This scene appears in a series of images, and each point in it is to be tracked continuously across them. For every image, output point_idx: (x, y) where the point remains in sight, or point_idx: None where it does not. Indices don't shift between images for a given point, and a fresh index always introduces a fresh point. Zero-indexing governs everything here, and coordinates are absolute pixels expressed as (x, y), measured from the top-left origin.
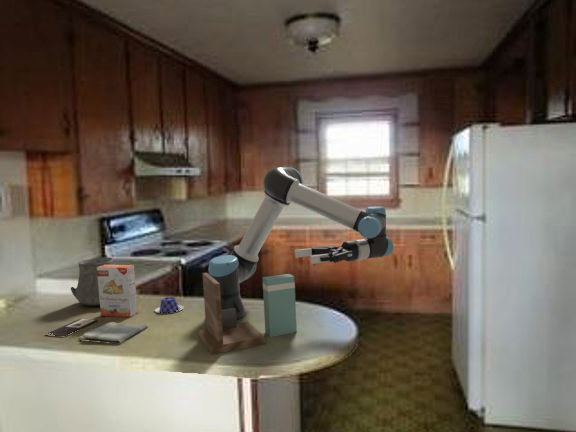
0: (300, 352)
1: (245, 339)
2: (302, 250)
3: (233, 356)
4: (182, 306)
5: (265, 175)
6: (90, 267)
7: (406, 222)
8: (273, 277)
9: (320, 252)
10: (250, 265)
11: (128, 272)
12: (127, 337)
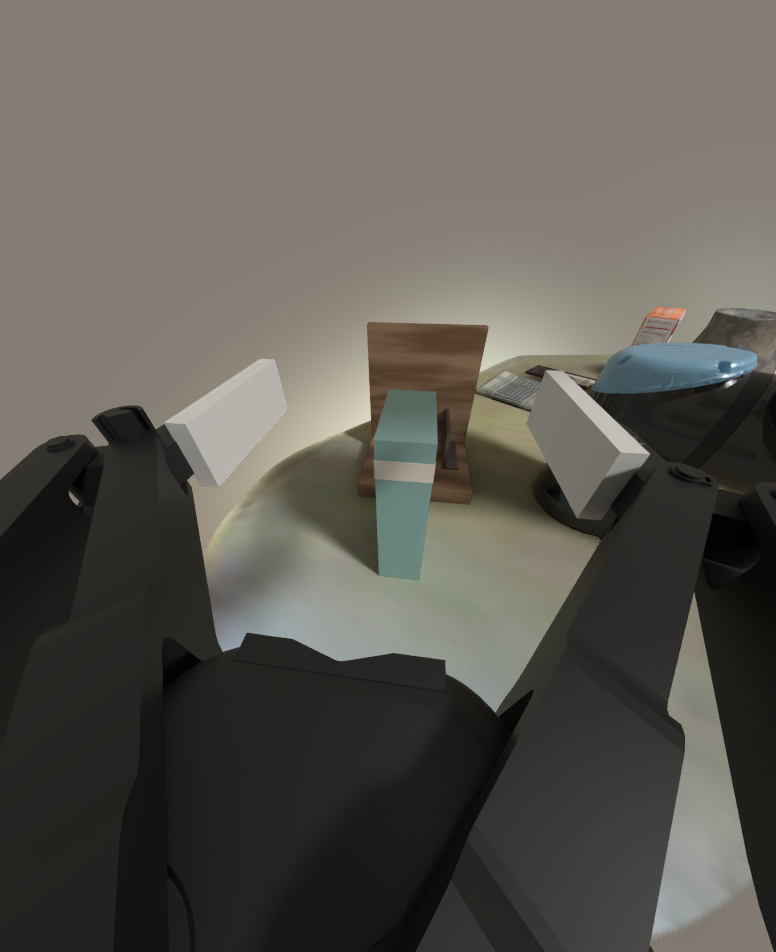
0: (268, 523)
1: (369, 460)
2: (564, 403)
3: (347, 451)
4: None
5: None
6: (713, 318)
7: None
8: (411, 403)
9: (584, 577)
10: None
11: (646, 327)
12: (489, 394)
